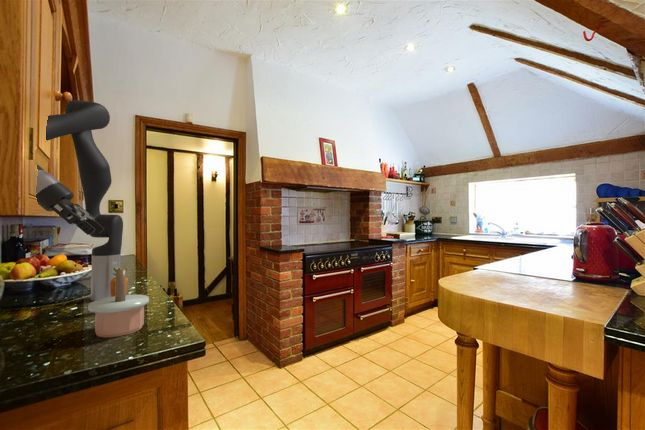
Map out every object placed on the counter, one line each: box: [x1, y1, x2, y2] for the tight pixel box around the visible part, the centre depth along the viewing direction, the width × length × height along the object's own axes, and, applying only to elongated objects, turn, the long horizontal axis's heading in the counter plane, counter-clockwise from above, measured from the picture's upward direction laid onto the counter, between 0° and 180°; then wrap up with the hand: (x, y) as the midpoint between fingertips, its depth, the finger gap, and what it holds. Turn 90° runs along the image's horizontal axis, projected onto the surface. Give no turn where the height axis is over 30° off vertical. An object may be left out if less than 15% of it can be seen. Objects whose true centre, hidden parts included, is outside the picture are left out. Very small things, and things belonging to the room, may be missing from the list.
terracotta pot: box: [94, 305, 145, 338], centre depth 81 cm, size 11×11×7 cm
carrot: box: [110, 267, 129, 297], centre depth 99 cm, size 5×5×15 cm
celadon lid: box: [87, 268, 150, 313], centre depth 81 cm, size 14×14×10 cm
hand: (97, 232), depth 83 cm, fingers open, 8 cm apart
